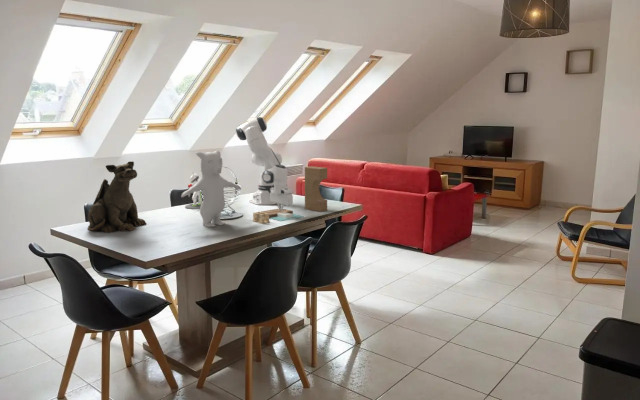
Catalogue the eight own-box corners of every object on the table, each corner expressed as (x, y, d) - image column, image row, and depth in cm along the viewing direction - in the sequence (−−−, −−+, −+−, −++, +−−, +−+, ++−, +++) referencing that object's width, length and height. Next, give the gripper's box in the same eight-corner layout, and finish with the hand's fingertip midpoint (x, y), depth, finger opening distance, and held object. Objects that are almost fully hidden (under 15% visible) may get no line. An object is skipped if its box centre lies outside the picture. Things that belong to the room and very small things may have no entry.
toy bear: (191, 233, 292) (188, 154, 284) (176, 228, 304) (172, 153, 296) (250, 221, 322) (248, 150, 314) (234, 217, 334) (232, 148, 326)
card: (277, 216, 337) (277, 213, 336) (284, 215, 341) (284, 212, 340) (285, 218, 330) (285, 215, 330) (293, 217, 334) (292, 214, 334)
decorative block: (327, 210, 358) (327, 167, 353) (320, 211, 352) (320, 168, 347) (311, 207, 368) (311, 166, 363) (304, 209, 362) (304, 167, 357)
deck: (255, 215, 341) (255, 212, 340) (280, 210, 356) (280, 208, 355) (267, 218, 331) (267, 215, 331) (292, 213, 346) (292, 210, 346)
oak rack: (252, 221, 323) (252, 212, 322) (260, 219, 327) (260, 211, 326) (262, 223, 316) (261, 215, 315) (269, 222, 320) (269, 213, 319)
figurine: (195, 204, 381) (193, 170, 377) (213, 205, 374) (212, 172, 370) (180, 208, 366) (178, 173, 362) (199, 209, 359) (197, 174, 355)
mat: (268, 218, 332) (268, 217, 332) (292, 214, 345) (292, 213, 345) (280, 221, 323) (280, 220, 323) (304, 216, 337) (304, 216, 337)
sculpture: (118, 237, 283) (113, 165, 276) (76, 229, 300) (70, 162, 293) (160, 226, 309) (156, 160, 302) (119, 220, 327) (115, 158, 320)
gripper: (267, 188, 340) (267, 208, 343) (286, 192, 325) (287, 213, 328) (274, 187, 344) (275, 207, 347) (294, 190, 330) (294, 211, 332)
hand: (281, 210), depth 337 cm, fingers closed
